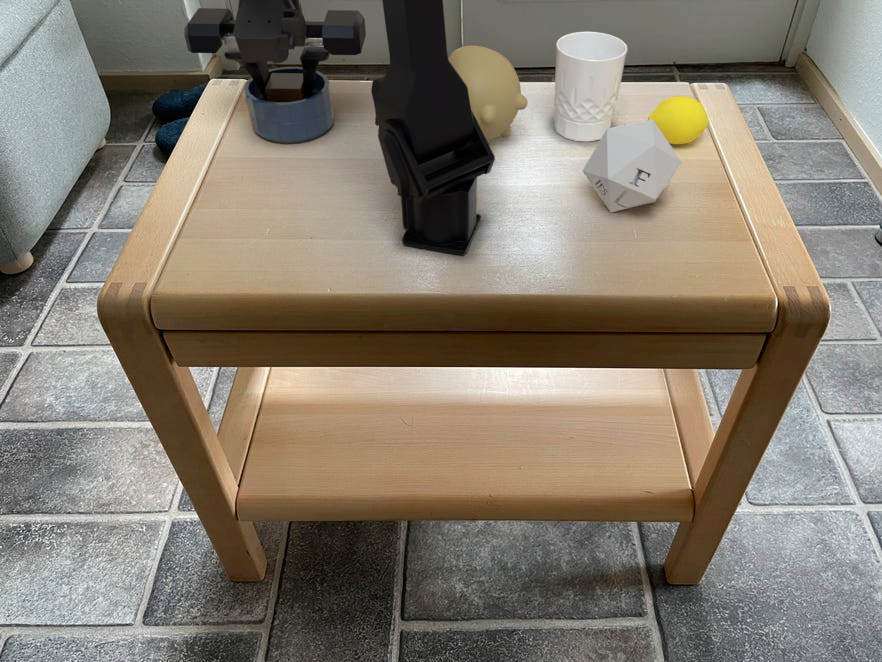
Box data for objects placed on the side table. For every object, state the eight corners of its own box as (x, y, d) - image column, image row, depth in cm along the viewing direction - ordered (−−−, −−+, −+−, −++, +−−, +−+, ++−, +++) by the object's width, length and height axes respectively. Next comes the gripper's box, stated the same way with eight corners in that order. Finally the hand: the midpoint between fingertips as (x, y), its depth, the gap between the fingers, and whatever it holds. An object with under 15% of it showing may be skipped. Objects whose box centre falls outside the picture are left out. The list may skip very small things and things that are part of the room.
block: (311, 105, 90) (306, 73, 87) (305, 121, 87) (300, 88, 84) (277, 105, 90) (271, 72, 87) (271, 121, 87) (265, 88, 84)
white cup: (622, 142, 88) (636, 58, 81) (557, 147, 87) (566, 62, 80) (604, 111, 93) (615, 29, 86) (542, 115, 92) (549, 33, 85)
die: (564, 206, 79) (602, 168, 70) (587, 134, 82) (627, 88, 72) (635, 236, 81) (681, 203, 71) (656, 165, 83) (703, 123, 73)
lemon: (702, 132, 90) (712, 89, 86) (705, 155, 86) (716, 111, 82) (643, 128, 90) (651, 85, 86) (644, 150, 87) (652, 106, 83)
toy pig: (498, 151, 93) (457, 74, 92) (553, 105, 83) (507, 18, 82) (438, 177, 88) (394, 95, 87) (489, 131, 78) (439, 38, 77)
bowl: (346, 112, 92) (341, 72, 88) (314, 150, 85) (308, 109, 82) (274, 101, 94) (267, 62, 90) (238, 138, 87) (228, 97, 84)
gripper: (149, -12, 71) (192, 138, 82) (346, -9, 71) (362, 140, 82) (182, -50, 79) (217, 92, 90) (359, -47, 79) (372, 94, 90)
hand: (290, 105), depth 88 cm, fingers closed on block, 4 cm apart
